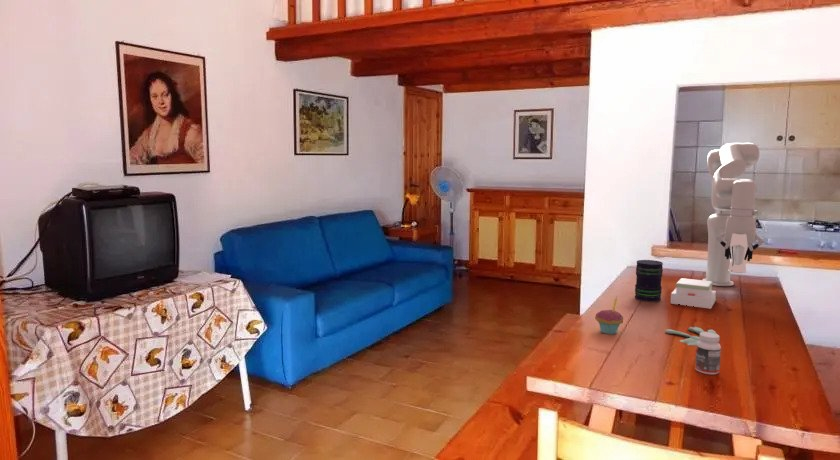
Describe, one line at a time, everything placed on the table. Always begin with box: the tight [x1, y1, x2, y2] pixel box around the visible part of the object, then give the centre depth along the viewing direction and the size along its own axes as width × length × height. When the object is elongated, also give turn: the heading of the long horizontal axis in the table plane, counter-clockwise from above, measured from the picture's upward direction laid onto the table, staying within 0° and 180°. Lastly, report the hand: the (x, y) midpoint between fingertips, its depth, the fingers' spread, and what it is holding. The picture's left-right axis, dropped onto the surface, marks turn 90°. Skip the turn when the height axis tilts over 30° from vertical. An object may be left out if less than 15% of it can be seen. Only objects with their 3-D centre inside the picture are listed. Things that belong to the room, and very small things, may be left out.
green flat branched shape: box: [664, 326, 721, 347], centre depth 178 cm, size 20×22×2 cm
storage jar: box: [634, 259, 664, 303], centre depth 223 cm, size 10×10×15 cm
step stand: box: [670, 277, 717, 310], centre depth 218 cm, size 14×14×8 cm
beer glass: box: [728, 233, 749, 274], centre depth 213 cm, size 7×7×15 cm
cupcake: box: [594, 296, 624, 335], centre depth 180 cm, size 9×8×12 cm
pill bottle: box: [694, 331, 722, 376], centre depth 147 cm, size 6×6×10 cm
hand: (738, 259), depth 213 cm, fingers closed on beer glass, 6 cm apart
